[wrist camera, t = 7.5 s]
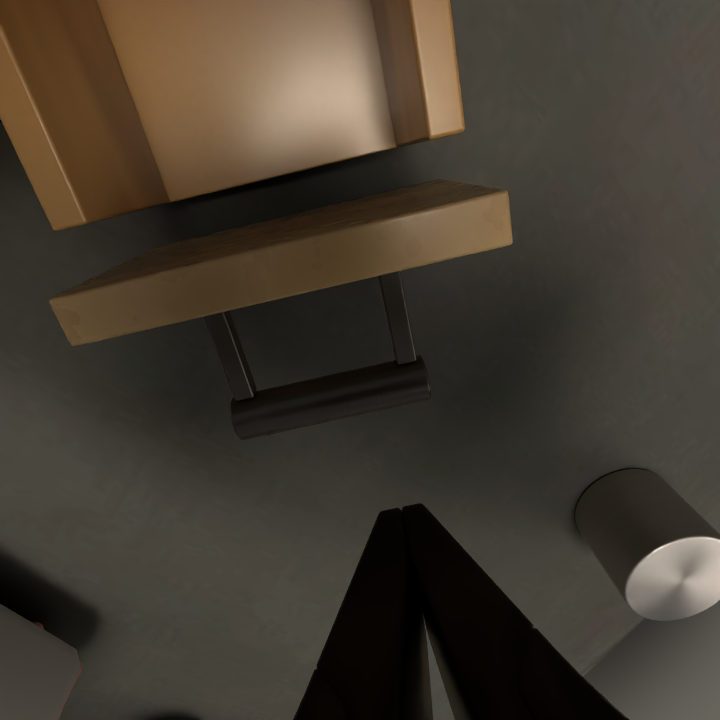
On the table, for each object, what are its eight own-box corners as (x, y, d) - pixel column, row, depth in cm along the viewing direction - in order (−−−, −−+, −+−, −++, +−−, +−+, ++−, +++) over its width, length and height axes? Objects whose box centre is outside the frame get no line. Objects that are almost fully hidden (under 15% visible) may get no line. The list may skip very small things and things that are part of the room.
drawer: (463, 334, 18) (529, 422, 12) (211, 391, 19) (150, 505, 13) (366, -351, 11) (405, -981, 5) (-37, -236, 12) (-457, -686, 6)
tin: (576, 552, 25) (624, 630, 20) (572, 479, 23) (625, 550, 19) (666, 533, 24) (734, 609, 20) (671, 458, 23) (746, 525, 18)
